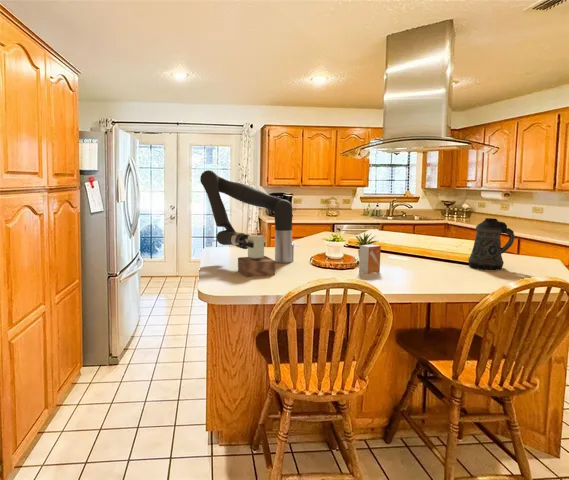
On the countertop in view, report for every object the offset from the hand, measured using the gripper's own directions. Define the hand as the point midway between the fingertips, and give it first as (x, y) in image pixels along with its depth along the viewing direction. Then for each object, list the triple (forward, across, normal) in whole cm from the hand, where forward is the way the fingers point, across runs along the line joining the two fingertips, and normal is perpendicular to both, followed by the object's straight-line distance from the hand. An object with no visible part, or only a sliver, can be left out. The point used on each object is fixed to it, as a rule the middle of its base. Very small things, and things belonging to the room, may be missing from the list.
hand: (258, 245), depth 212 cm
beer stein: (+51, +106, +14) cm, 118 cm away
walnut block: (-2, 0, +14) cm, 14 cm away
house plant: (+6, +62, +14) cm, 64 cm away
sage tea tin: (-2, 0, +6) cm, 7 cm away
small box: (+26, +47, +14) cm, 55 cm away
